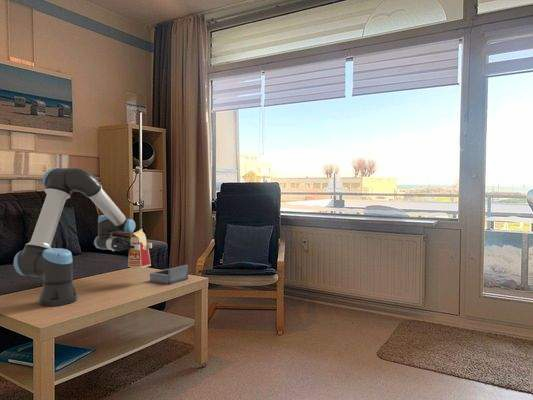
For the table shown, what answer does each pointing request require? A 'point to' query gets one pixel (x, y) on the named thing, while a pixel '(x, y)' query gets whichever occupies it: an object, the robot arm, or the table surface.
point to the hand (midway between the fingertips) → (145, 246)
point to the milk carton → (139, 251)
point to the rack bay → (170, 275)
